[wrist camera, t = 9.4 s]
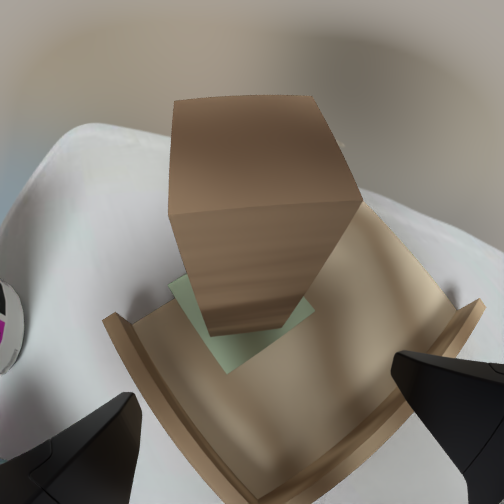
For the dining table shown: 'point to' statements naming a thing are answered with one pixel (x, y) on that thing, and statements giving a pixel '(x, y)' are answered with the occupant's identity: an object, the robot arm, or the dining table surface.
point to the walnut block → (255, 204)
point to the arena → (295, 371)
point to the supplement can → (10, 326)
